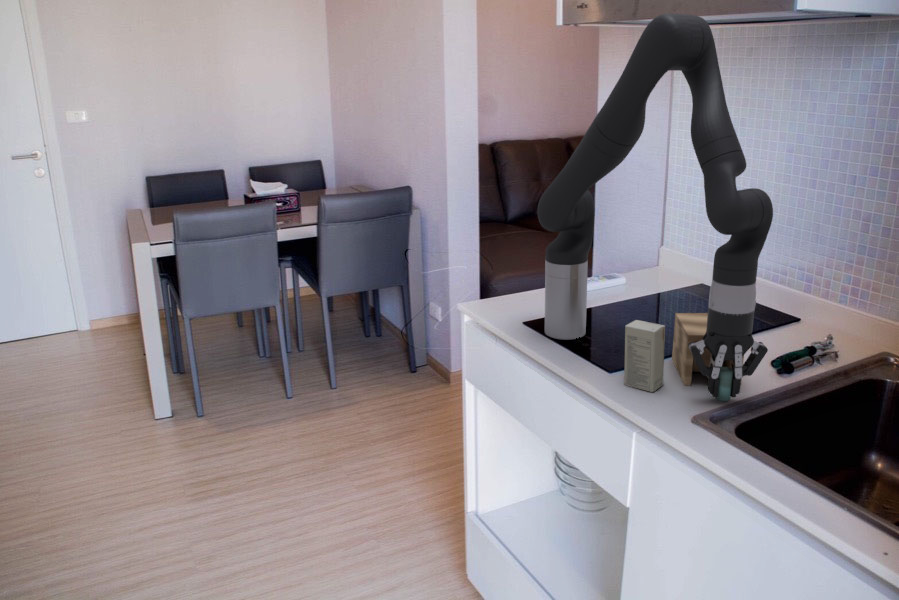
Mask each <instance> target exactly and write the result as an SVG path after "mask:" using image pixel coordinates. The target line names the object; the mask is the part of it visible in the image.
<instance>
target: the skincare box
mask: <svg viewBox="0 0 899 600" xmlns="http://www.w3.org/2000/svg"><path fill="white" fill-rule="evenodd" d="M665 339H666V325H663V324H661V323H660V324H658V323H655V322H650V321H649V322H648V321H644V320H640V319H635V320H633V321H631V322H629V323H627V324H625V327H624V370H623V371H624V372H623V374H624V376H623V377H624V378H623V379H624V381H623V383H624V385H625V386H629V387H632V388H636V389H639V390H642V391H647V392H650V393H654V392H655V391H657V390H658V389H659V388H661V387H662V386H663V385H664V369H665V368H664V367H665V366H664V362H665V342H666V341H665Z"/></svg>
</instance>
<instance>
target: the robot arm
mask: <svg viewBox="0 0 899 600" xmlns="http://www.w3.org/2000/svg"><path fill="white" fill-rule="evenodd" d="M718 58H719V57H718V53H717V47H716V41H715V38H714V35H713V31H712V29H711V27H710V25H709V23H708V21H706V19H704V18H703V17H701V16H699V15H695V14H686V13H685V14H684V13H683V14H682V13H662V14H659V15H657V16H655V17H654V18H653V19H652V20H651V21H649V23H648V24H647V25H646V27H645V28H644V30H643V32H642V33H641V35H640V36H639V39H638V40H637V43H636V45H635V47H634V49H633V51H632V53H631V55H630V58H629V59H628V61H627V63H626V65H625V67H624V69H623V71H622V73H621V75H620V77H619V79H618V80H617V82H616V83H615V85H614V87H613V89H612V91H611V92H610V94H609V95H608V97H607V99H606V101H605V102H604V104H603V105H602V107H601V109H600V110H599V111H598V113H597V114H596V115H595V117H594V119H593V120H592V122H591V124H590V125H589V127H588V129H586V132H585V134H584V135H583V137H582V139H581V140H580V142H579V143H578V145H577V147H576V148H575V149H574V151H573V153H572V154H571V155H570V158H569V159H568V161H567V162H566V164H565V165H564V167H562V169H561V171H560V172H559V173H558V175H557V176H556V177H555V178H554V179H553V181H552V182H551V183H550V184H549V186H548V187H547V188H546V189H545V191H544V192H543V193H542V196H540V198H539V201H538V205H537V211H536V212H537V218H538V222H539V224H540V226H541V227H542V228H543V229H545V230H547V231H549V232H553V233H557V232H559V233H558V234H557V236H556V238H554V239H553V241H551V242H549V244H548V245H547V246H546V248H545V253H544V254H545V257H544V258H545V260H544V261H545V262H544V263H545V264H544V266H545V267H544V275H545V276H544V277H545V278H544V281H545V282H544V334H545V335H546V336H548V337H550V338H553V339H556V340H565V341H566V340H567V341H569V340H576V338H577V339H579V337H580V338H582V337H584V336H585V335H586V333H587V332H586V331H587V330H586V327H587V306H588V305H587V302H588V301H587V299H588V267H589V265H588V263H589V252H590V251H591V248H592V247H593V238H594V237H593V236H594V226H595V225H594V224H595V202H594V197H593V195H592V193H591V191H590V190H589V189H590V188H592V187H593V186H594V185H596V184H597V183H598V182H599V181H601V180H602V179H603V178H605V177H606V176H607V175H608V174H610V173H611V172H612V171H613V170H615V169H616V168H617V167H619V165H620V164H622V162H623V161H625V159H626V158H627V156H628V155H629V154H630V152H631V151H632V150H633V148H634V147H635V145H637V143H638V142H639V140H640V137H642V134H643V131H644V127H645V122H646V107H647V102H648V99H649V98H650V95H651V94H652V91H653V90H654V89H655V87H656V85H657V84H658V83H659V82H660V80H661V79H662V78H663V77H664V75H666V73H667V72H669V71H679V72H680V71H681V72H682V75H683V76H684V78H685V81H686V82H687V84H688V87H689V90H690V94H691V100H692V109H691V119H690V120H691V121H690V137H691V143H692V147H693V150H694V153H695V156H696V158H697V162H698V164H699V167H700V170H701V173H702V175H703V189H704V201H705V210H706V217H707V219H708V221H709V223H710V225H711V226H712V227H713V228H714V230H715V231H716V232H718V233H719V234H722V235H725V236H730V238H729V239H728V241H726V242H725V243H724V244H723V245H720V246H719V247H718V248H716V251H715V253H714V257H713V266H712V267H713V269H712V279H711V285H710V288H709V297H708V307H707V308H708V309H707V313H708V317H707V329H706V333H705V335H704V336H703V340H701V341H699V342H696V343H694V342H690V343H689V344H688V347H689V349H690V351H691V353H692V355H693V358H694V360H695V362H696V364H697V366H698V368H699V370H700V371H699V372H700V374H701V375H702V376H703V377H707V376H709V378H707V390H708V393H709V395H711V396H712V397H713V398H715V397H718V387H719V378H718V375H719V371H720V368H721V367H722V364H723V361H725V360H730V361H731V369H732V370H733V378H732V387H731V397H730V398H736V397H737V395H739V394H740V393H741V386H740V384H741V385H742V379H741V378H744V377H746V376H748V377H750V376H752V375H753V374H754V373H755V372H756V370H757V368H758V367H759V365H760V364H761V362H762V360H763V359H764V357H765V356H766V355H767V353H768V350H769V349H768V347H767V346H766V345H765V344H764V343H763V342H762V341H759V342H758V341H756V340H755V339H754V337H753V328H754V318H755V309H756V305H757V277H758V276H757V274H758V267H759V265H758V264H759V258H760V255H761V253H762V251H763V249H764V245H765V243H766V240H767V238H768V235H769V232H770V229H771V226H772V222H773V217H774V208H773V203H772V200H771V198H770V196H769V194H768V193H767V192H765V191H764V190H762V189H761V188H756V187H755V188H754V187H752V188H745V189H739V190H738V188H737V182H736V178H738V177H739V176H740V175H742V174H743V173H744V172H745V171H746V169H747V162H746V161H747V160H746V156H745V153H744V152H743V148H742V146H741V143H740V141H739V138H738V136H737V133H736V129H735V127H734V125H733V121H732V119H731V115H730V111H729V109H728V105H727V101H726V96H725V95H726V94H725V91H724V86H723V85H724V84H723V79H722V75H721V69H720V66H719V64H720V63H719V59H718ZM705 346H706V347H707V349H708V350H709V351H710V353H711V356H710V364H709V367H708V366H705V363H704V361H703V359H702V357H701V354H703V352H704V350H703V348H704V347H705ZM749 350H750V354H749V355H748V357H747V358H746V360H745V361H744V362H743V366H742V356H743V355H744V356H745V354H746V353H747V352H748V351H749ZM706 375H707V376H706Z"/></svg>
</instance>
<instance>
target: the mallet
mask: <svg viewBox="0 0 899 600" xmlns="http://www.w3.org/2000/svg"><path fill="white" fill-rule="evenodd" d="M696 342H699V341H695V342H694V343H696ZM703 350H704V352H703V354H701V357H702V359H703V361H704V363H705V366H708V367H709V364H710V356H711V353H710V351H709V350H708V349H707V347H706V346H705V347H704V348H703ZM692 372H700V370H699V368H698V366H697V364H696V362H695V360H694V358H693V366H692ZM705 377H706V378H707V379H708V378H709V376H707V375H706V376H705ZM718 378H719V387H718V397H714V398H715V399H716V400H717V401H721V402H727V401H730V400H731V398H732V397H731V387H732V378H733V370H732V369H731V368H728V367H721V368H720V371H719V375H718Z"/></svg>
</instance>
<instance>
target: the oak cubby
mask: <svg viewBox="0 0 899 600" xmlns="http://www.w3.org/2000/svg"><path fill="white" fill-rule="evenodd" d="M707 317H708V312H675V314H674V324H673V325H674V326H673V338H672V339H673V340H672V353H671V354H672V355H671V361H672V362H673V365H674V366H675V369H676V371H677V373H678V375H679V377H680V379H681V381H682V383H683V385H684V386H691V385H692V377H693V371H692V366H693V355H692V353H691V351H690V349H689V347H688V344H689V343H690V342H695V341H701V340H703V336H704V335H705V333H706V329H707ZM744 359H745V354H744V355H743V356H742V366H743V364H744V362H745V361H744ZM722 367H728V368H731V361H730V360H725V361H723V364H722ZM742 378H743V377H742ZM742 378H741V380H742ZM741 386H742V383H741V384H740V387H741Z"/></svg>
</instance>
